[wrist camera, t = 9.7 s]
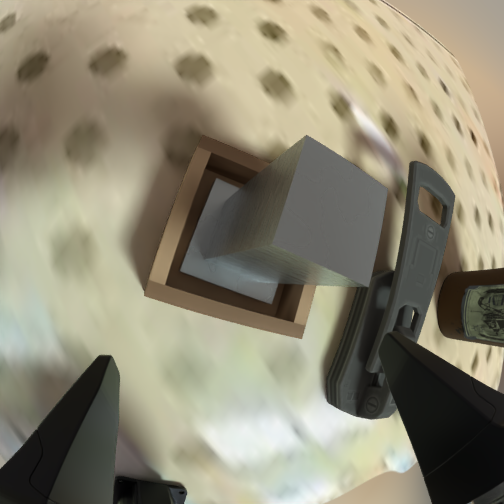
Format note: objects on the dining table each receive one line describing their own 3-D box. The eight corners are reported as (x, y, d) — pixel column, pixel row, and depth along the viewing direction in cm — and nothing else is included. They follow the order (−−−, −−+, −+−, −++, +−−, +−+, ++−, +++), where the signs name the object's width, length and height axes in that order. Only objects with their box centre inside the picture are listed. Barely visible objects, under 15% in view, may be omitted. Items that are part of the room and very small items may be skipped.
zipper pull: (458, 191, 25) (419, 426, 21) (416, 201, 31) (376, 407, 27) (412, 149, 22) (360, 437, 18) (366, 169, 28) (315, 410, 24)
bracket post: (264, 302, 22) (380, 324, 11) (178, 271, 20) (223, 267, 9) (291, 219, 23) (407, 179, 12) (212, 182, 21) (286, 96, 10)
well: (278, 330, 23) (301, 339, 20) (144, 291, 20) (144, 295, 16) (310, 206, 25) (336, 196, 22) (192, 155, 22) (202, 134, 18)
